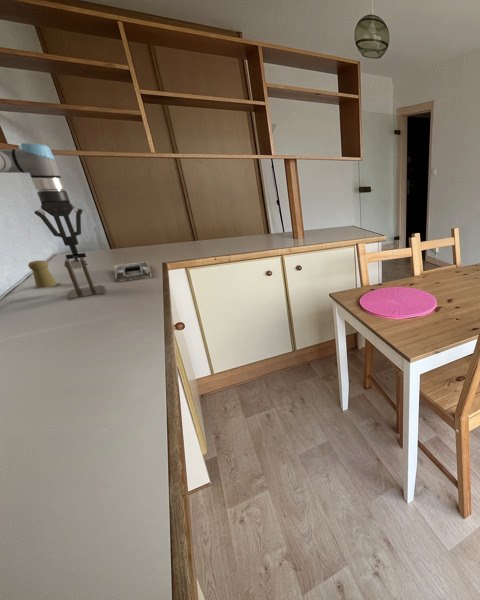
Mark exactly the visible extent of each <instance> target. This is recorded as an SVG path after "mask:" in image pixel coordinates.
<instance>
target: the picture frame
mask: <svg viewBox="0 0 480 600" xmlns="http://www.w3.org/2000/svg"><path fill="white" fill-rule="evenodd" d="M112 267H113V268H112V269H113V271H114V278H115V279H116V282H124V281H130V280H131V281H132V280H138V279H145V278H148V279H151V278H152V270H151V267H150V263H149V262H148V261H139V262H131V263H121V264H115V265H113V266H112ZM137 269H139V270H140V273H139V272H138V273H134V274H126V271H129V270H137ZM143 270H144V272H145V274H144V272H143ZM121 273H122V276H123V277H118V274H121Z"/></svg>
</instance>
